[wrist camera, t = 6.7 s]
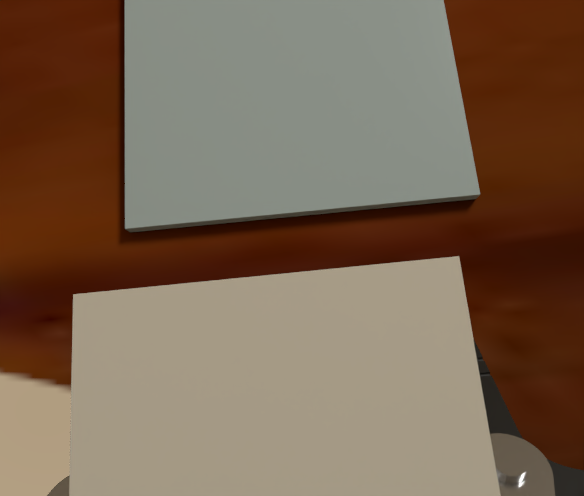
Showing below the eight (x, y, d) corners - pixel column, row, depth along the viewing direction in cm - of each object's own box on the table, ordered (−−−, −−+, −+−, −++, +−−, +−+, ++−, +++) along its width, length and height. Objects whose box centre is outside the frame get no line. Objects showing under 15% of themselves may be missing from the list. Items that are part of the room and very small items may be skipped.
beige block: (378, 326, 16) (458, 256, 6) (400, 496, 15) (542, 733, 5) (224, 340, 16) (72, 294, 7) (232, 509, 15) (64, 760, 5)
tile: (423, -83, 27) (425, -93, 26) (476, 199, 23) (480, 194, 22) (128, -49, 27) (124, -59, 27) (129, 232, 23) (125, 228, 23)
